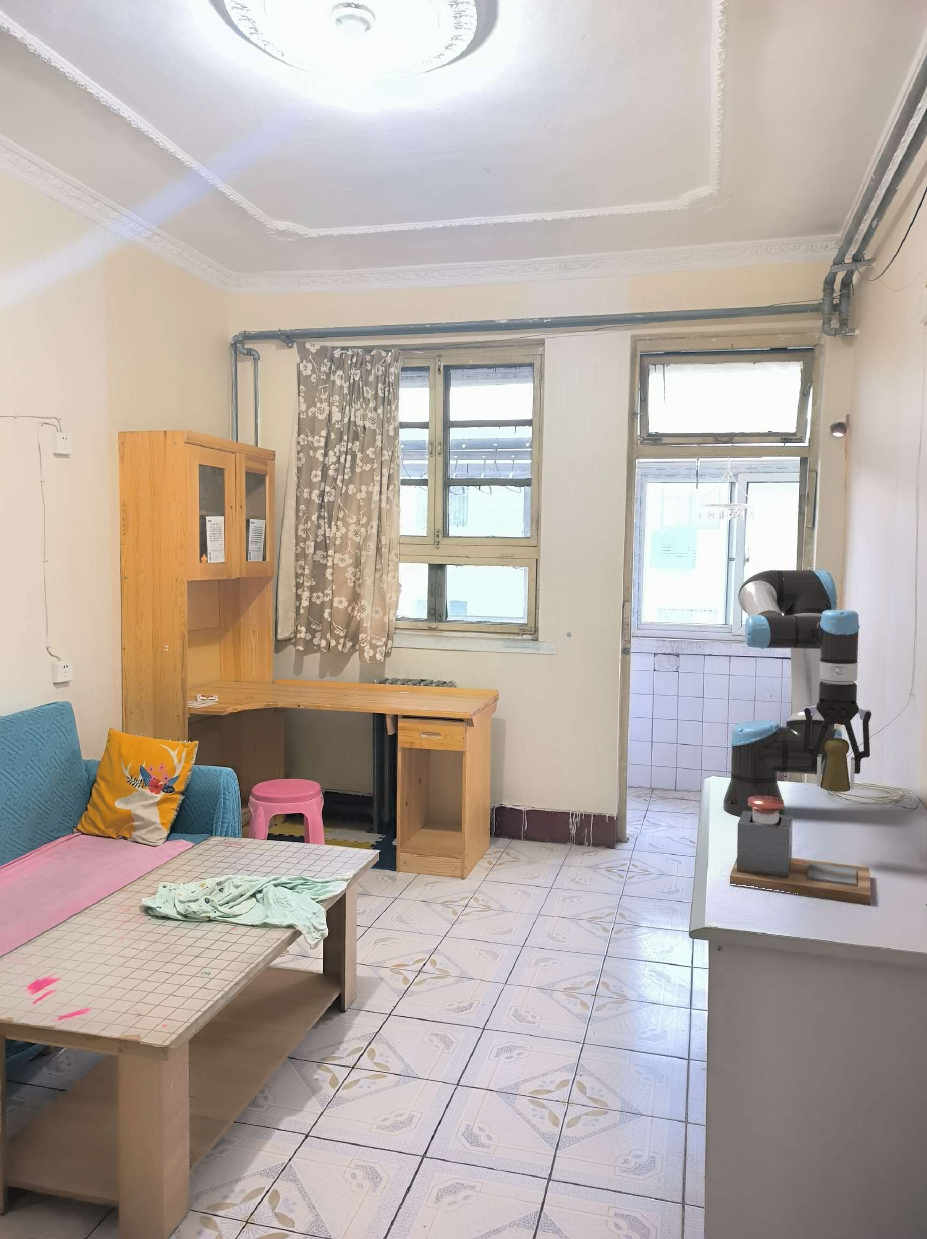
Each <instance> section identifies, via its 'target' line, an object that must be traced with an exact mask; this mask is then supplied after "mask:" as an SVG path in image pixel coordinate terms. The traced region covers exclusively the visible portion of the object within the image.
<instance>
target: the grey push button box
mask: <svg viewBox="0 0 927 1239" xmlns="http://www.w3.org/2000/svg"><path fill="white" fill-rule="evenodd" d="M752 815H753V812H751V811H743V813H742V815H741V816H739V819H738V822H737V835H736V836H737V842H736V844H737V845H736V848H737V849H736V858H737V871H738V872H745V873H753V874H760V875H768V876H775V877H782V878H789V873H790V868H791V863H792V858H793V856H792V855H793V823H794V822H793V818H794V817H793V815H789V814H788V815H786V814H783V815H779V826H778V825H769V824H760V823H752Z"/></svg>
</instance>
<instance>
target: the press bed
mask: <svg viewBox="0 0 927 1239" xmlns="http://www.w3.org/2000/svg"><path fill="white" fill-rule="evenodd" d="M870 874H871V873H870V867H868V866H861V865H853V864H845V863H844V864H843V863H837V862H829V861H821V860H814V859H806V858H799V857H798V858H796V857H792V863H791V868H790V873H789V878H782V877H775V876H768V875H760V874H753V873H745V872H738V871H737V857H736V859H735V860H734V864H733V866H732V869H731V872H730V875H729V885H730V884H736V885H746V886H754V887H758V888H765V889H772V890H779V891H784V892H790V893H796V894H797V893H798V894H801V895H800V896H803V895H806V896H805V897H810V896H812V897H811V898H817V897H818V898H819V899H825V900H834V901H839V902H846V903H847V902H848V903H854V904H860V905H868V906H871V895H872V894H871V876H870ZM796 894H795V895H796Z"/></svg>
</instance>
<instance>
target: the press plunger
mask: <svg viewBox="0 0 927 1239" xmlns="http://www.w3.org/2000/svg"><path fill="white" fill-rule="evenodd" d="M782 799H783V798H782ZM782 799H780V798H777V797H772V796H763V795H758V796H751V797H749V798H748V805H749V806H750V807H752V808H753V815H752V823H760V824H769V825H778V826H779V810H781V809H783V808H784V809H785V801H784V800H782Z"/></svg>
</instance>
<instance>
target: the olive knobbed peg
mask: <svg viewBox="0 0 927 1239" xmlns="http://www.w3.org/2000/svg"><path fill="white" fill-rule="evenodd" d="M824 750H825V752H826V757H825V762H824V768H823V774H821V786H819V787H820V788H821V789H822V790H825V791H829V792H836V793H845V792H849V791H851V789H850V775H849V766H848V758H847V757H848V756H847V755H848V753H849V751H850V742H849V740H846V739H845V738H842V739H841V738H828V739H826V740H825V742H824Z"/></svg>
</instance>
